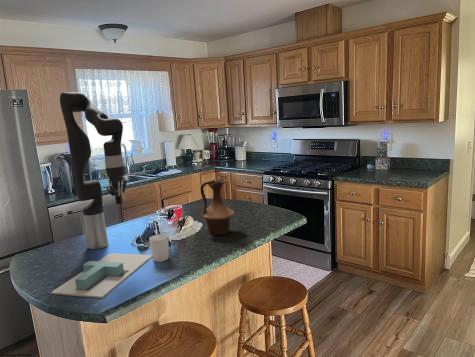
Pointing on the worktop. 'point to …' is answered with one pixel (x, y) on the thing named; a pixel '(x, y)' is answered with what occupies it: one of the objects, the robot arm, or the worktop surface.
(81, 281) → the t block
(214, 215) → the pitcher
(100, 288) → the mat
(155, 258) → the white cup
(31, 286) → the worktop surface
